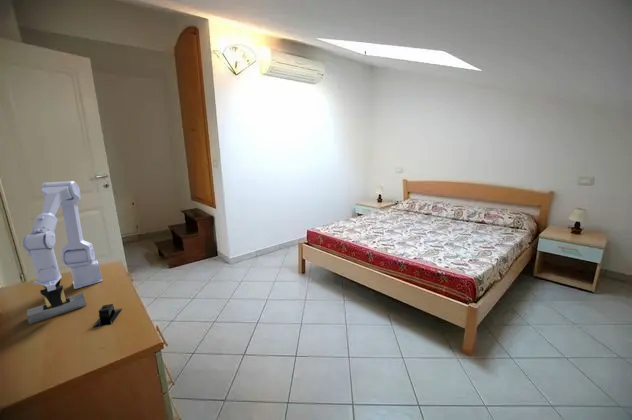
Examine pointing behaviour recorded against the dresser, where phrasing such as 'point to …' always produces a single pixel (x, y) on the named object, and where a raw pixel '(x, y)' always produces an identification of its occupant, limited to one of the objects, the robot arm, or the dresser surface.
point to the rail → (55, 309)
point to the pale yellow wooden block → (61, 298)
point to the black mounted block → (107, 315)
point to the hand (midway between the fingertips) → (56, 301)
